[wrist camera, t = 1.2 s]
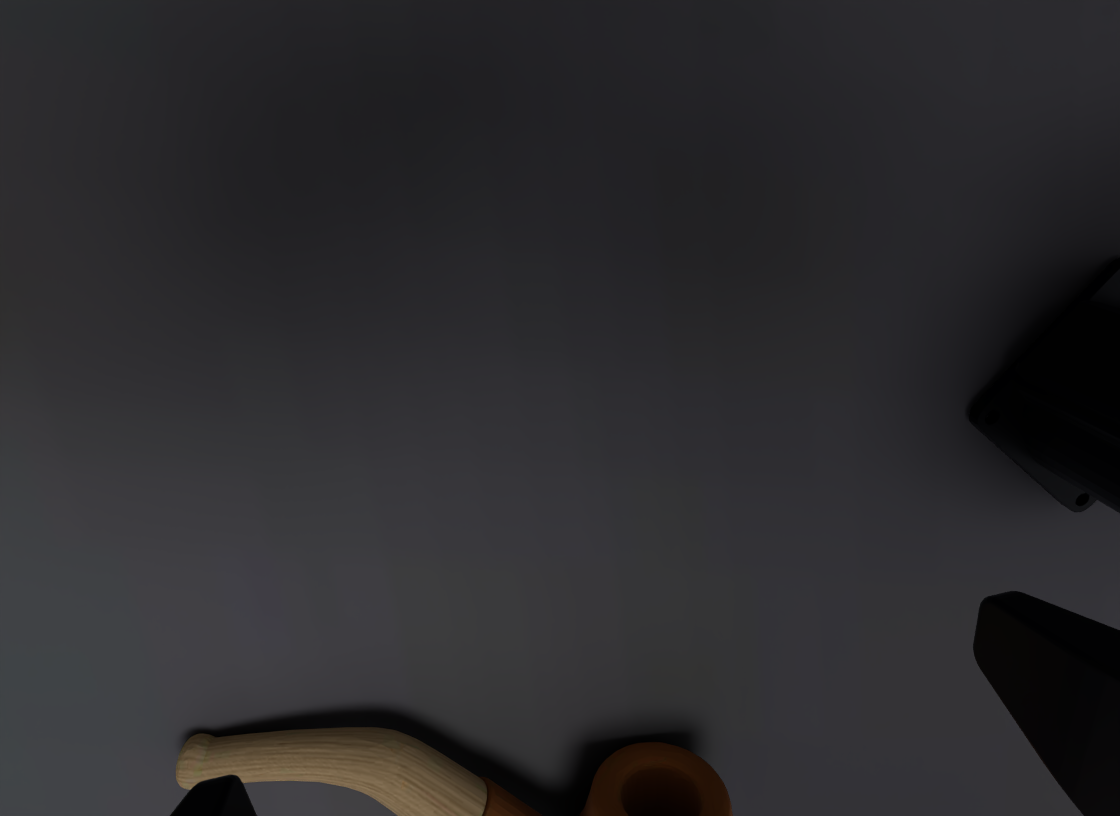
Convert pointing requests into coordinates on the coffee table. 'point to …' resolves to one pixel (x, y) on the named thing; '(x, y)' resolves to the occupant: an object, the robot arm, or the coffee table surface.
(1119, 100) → the coffee table surface
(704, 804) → the smoking pipe
